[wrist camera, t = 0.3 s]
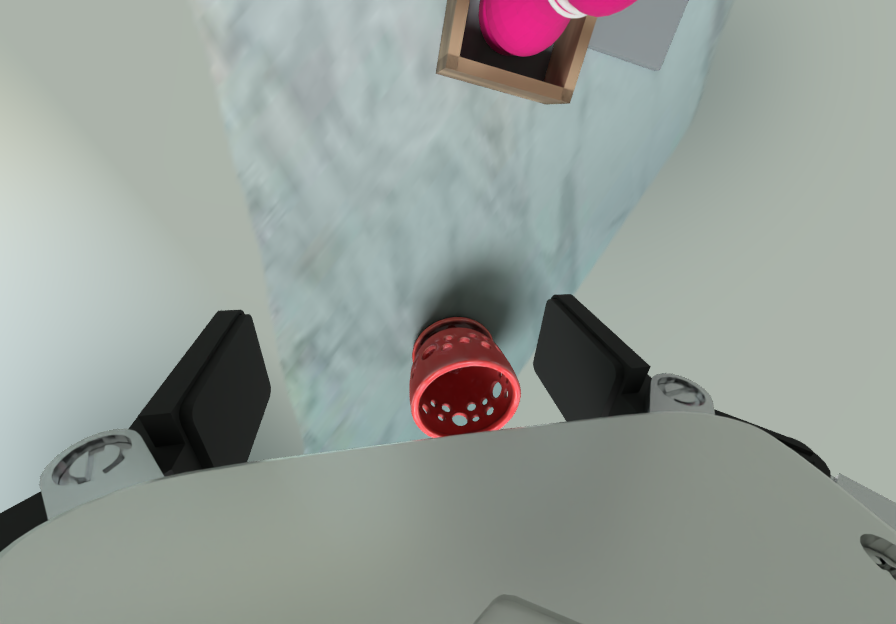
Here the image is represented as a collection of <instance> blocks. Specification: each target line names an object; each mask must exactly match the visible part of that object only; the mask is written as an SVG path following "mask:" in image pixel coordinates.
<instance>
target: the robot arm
mask: <svg viewBox="0 0 896 624" xmlns="http://www.w3.org/2000/svg"><path fill="white" fill-rule="evenodd" d="M533 366H534V370H535V372H536V374H537V375H538V377H539V379H540V380H541V382H542V383H543V385H544V387H545V388H546V390H547V391H548V393H549V394H550V396H551V398H552V399H553V401H554V402H555V404H556V405H557V407H558V409H559V410H560V412H561V413H562V415H563V417H564V418H565V420H566V421H567V422H559V423H550V424H543V425H534V426H525V427H517V428H510V429H501V430H492V431H484V432H476V433H468V434H460V435H452V436H444V437H436V438H429V439H421V440H413V441H405V442H397V443H389V444H382V445H374V446H366V447H359V448H351V449H344V450H336V451H328V452H321V453H313V454H305V455H298V456H290V457H283V458H275V459H268V460H260V461H253V462H247V460H248V457H249V455H250V452H251V449H252V446H253V443H254V440H255V438H256V434H257V432H258V429H259V426H260V423H261V420H262V417H263V415H264V412H265V409H266V406H267V403H268V400H269V397H270V392H271V386H270V382H269V378H268V375H267V371H266V367H265V364H264V360H263V356H262V353H261V349H260V346H259V342H258V338H257V334H256V331H255V327H254V323H253V320H252V317H251V315H249V314H244V312H243V311H242V310H227V311H226V310H225V311H218V312H217V313H216V314H215V315H214V317H213V318H212V319H211V321H210V322H209V323H208V325H207V326H206V328H205V329H204V330H203V331H202V332H201V334H200V335H199V336H198V338H197V339H196V340H195V342H194V343H193V344H192V346H191V347H190V348H189V350H188V351H187V352H186V354H185V355H184V356H183V357H182V359H181V360H180V362H179V363H178V364H177V365H176V367H175V368H174V369H173V371H172V372H171V373H170V375H169V376H168V377H167V379H166V380H165V381H164V382H163V384H162V385H161V386H160V388H159V389H158V390H157V392H156V393H155V394H154V396H153V397H152V398H151V400H150V401H149V402H148V404H147V405H146V406H145V408H144V409H143V410H142V411H141V413H140V414H139V415H138V417H137V418H136V420H135V421H134V422H133V424H132V425H131V426H130V428H129V429H113V430H109V431H105V432H101V433H98V434H95V435H92V436H90V437H87V438H85V439H83V440H81V441H79V442H77V443H76V444H74V445H72V446H70V447H69V448H67V449H66V450H64V451H63V452H62V453H60V454H59V455H57V456H56V457H55V458H54V459H53V460H52V461H51V462H50V463H49V464H48V465H47V466H46V468H45V470H44V471H43V473H42V474H41V476H40V489H41V492H39V493H37V494H35V495H33V496H31V497H30V498H28V499H26V500H24V501H22V502H20V503H19V504H17V505H15V506H13V507H11V508H9V509H7V510H6V511H4V512H2V513H0V624H896V503H895V502H893V501H891V500H889V499H887V498H885V497H883V496H882V495H880V494H878V493H876V492H874V491H872V490H870V489H868V488H866V487H864V486H862V485H861V484H859V483H857V482H855V481H853V480H851V479H849V478H847V477H846V476H844V475H842V474H840V473H839V474H838V475H837V476H836V477H833V476H831V475H830V470H829V468H828V467H827V465H826V463H825V462H824V461H823V460H822V459H821V458H820V457H819V456H818V455H816V454H815V453H814V452H813V451H812V450H811V449H810V448H808V447H807V446H806V445H805V444H803V443H802V442H800V441H798V440H795V439H793V438H790V437H786V436H784V435H781V434H779V433H776V432H773V431H771V430H768V429H765V428H763V427H760V426H757V425H754V424H752V423H749V422H747V421H744V420H741V419H738V418H736V417H733V416H730V415H728V414H725V413H723V412H720V411H717V410H714V406H713V401H712V399H711V397H710V395H709V394H708V393H707V391H706V390H705V389H703V388H702V387H700V386H699V385H698V384H697V383H695V382H693V381H691V380H689V379H687V378H684V377H682V376H679V375H674V374H666V373H662V374H657V375H655V376H653V377H652V378H651V377H650V376H649V375H648V374H647V373H648V371H649V369H650V366H649V365H648V364H647V363H646V362H645V361H644V360H643V359H641V357H639V356H638V355H637V354H636V353H635V352H634V351H633V350H632V349H631V348H630V347H628V346H627V345H626V344H625V343H624V342H623V341H622V340H621V339H620V338H619V337H618V336H617V335H615V334H614V333H613V332H612V331H611V330H610V329H609V328H608V327H607V326H606V325H604V324H603V323H602V322H601V321H600V320H599V319H598V318H597V317H596V316H595V315H593V314H592V313H591V312H590V311H589V310H588V309H587V308H586V307H585V306H584V305H583V304H581V303H580V302H579V301H578V300H577V299H576V298H575V297H574V296H573V295H571V294H563V295H554V296H552V298H551V299H549V300H548V301H547V303H546V307H545V312H544V316H543V321H542V325H541V330H540V334H539V339H538V343H537V348H536V352H535V357H534V362H533Z"/></svg>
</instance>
